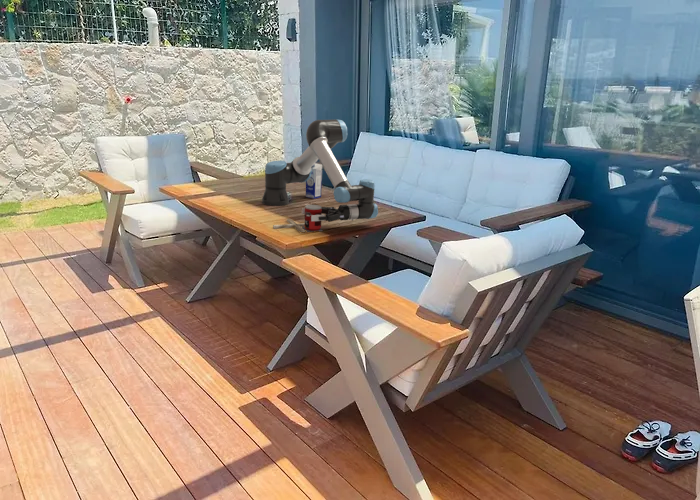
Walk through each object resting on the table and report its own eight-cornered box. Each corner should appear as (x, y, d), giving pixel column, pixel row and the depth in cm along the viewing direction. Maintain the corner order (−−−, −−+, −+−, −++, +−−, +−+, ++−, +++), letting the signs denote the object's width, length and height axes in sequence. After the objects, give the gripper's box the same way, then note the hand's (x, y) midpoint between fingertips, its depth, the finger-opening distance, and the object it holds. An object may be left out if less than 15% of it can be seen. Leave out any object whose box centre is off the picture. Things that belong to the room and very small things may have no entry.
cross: (280, 234, 251) (280, 232, 251) (267, 222, 270) (267, 219, 270) (324, 231, 260) (324, 228, 259) (309, 219, 279) (309, 217, 278)
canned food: (304, 226, 265) (304, 204, 261) (320, 226, 266) (321, 204, 262) (304, 230, 258) (304, 208, 254) (321, 231, 258) (322, 208, 255)
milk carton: (321, 197, 329) (322, 164, 323) (314, 198, 324) (315, 165, 318) (312, 195, 333) (313, 162, 327) (305, 196, 328) (306, 163, 321)
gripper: (357, 226, 257) (315, 229, 249) (337, 213, 278) (298, 215, 270) (358, 211, 255) (315, 213, 246) (338, 199, 276) (298, 201, 268)
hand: (306, 214), depth 258 cm, fingers open, 13 cm apart
